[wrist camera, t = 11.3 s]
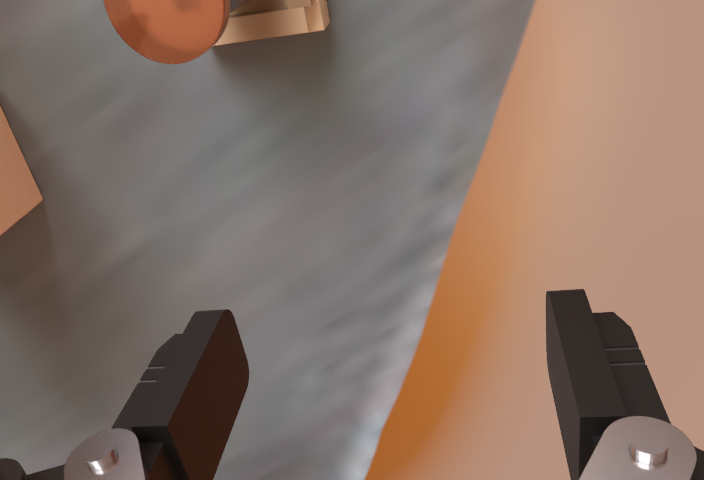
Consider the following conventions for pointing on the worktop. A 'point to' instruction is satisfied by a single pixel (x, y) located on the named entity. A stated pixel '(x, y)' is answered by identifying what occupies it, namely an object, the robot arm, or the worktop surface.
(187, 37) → the pin
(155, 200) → the worktop surface
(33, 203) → the soap dispenser
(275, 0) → the pin block
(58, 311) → the worktop surface
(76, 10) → the worktop surface
